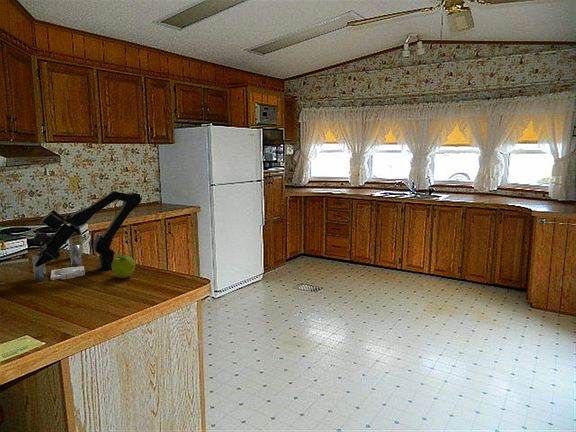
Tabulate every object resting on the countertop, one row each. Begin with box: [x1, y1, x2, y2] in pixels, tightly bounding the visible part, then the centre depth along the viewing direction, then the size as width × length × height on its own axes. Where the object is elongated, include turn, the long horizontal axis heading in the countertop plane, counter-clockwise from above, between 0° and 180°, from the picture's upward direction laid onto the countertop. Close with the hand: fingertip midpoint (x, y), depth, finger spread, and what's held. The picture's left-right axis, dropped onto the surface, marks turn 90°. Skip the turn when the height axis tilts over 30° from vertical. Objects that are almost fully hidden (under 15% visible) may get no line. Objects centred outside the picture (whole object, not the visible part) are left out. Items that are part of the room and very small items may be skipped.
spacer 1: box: [31, 255, 48, 282], centre depth 172 cm, size 4×4×10 cm
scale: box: [50, 265, 86, 281], centre depth 179 cm, size 13×15×2 cm
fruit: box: [111, 253, 136, 279], centre depth 173 cm, size 9×9×10 cm
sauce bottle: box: [68, 223, 84, 259], centre depth 209 cm, size 6×6×20 cm
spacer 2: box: [68, 245, 83, 267], centre depth 193 cm, size 4×4×10 cm
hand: (35, 265), depth 171 cm, fingers closed on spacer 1, 4 cm apart
